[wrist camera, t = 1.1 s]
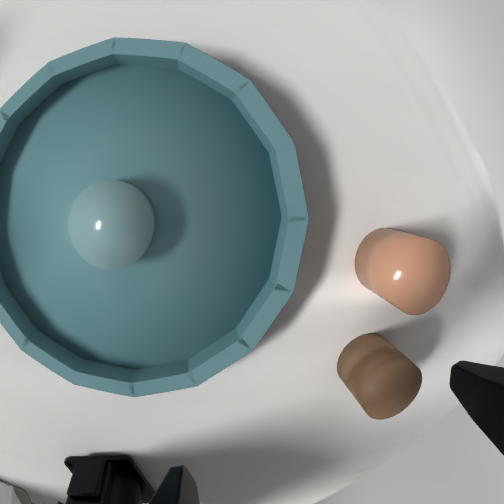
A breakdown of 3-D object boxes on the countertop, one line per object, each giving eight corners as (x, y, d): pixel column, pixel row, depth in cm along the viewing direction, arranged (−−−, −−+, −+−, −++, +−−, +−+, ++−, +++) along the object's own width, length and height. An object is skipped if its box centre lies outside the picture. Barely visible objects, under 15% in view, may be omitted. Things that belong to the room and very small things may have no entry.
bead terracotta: (409, 281, 21) (450, 301, 16) (358, 298, 20) (394, 325, 16) (404, 222, 20) (449, 232, 15) (350, 235, 19) (389, 249, 15)
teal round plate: (314, 333, 20) (328, 351, 18) (46, 387, 18) (34, 406, 16) (253, 29, 16) (261, 10, 13) (-27, 120, 14) (-48, 116, 11)
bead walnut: (388, 372, 22) (419, 403, 18) (338, 391, 21) (364, 428, 17) (388, 325, 21) (423, 353, 17) (334, 344, 21) (363, 378, 16)
